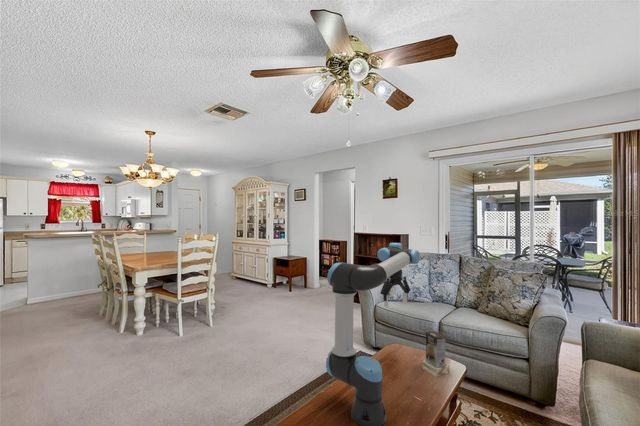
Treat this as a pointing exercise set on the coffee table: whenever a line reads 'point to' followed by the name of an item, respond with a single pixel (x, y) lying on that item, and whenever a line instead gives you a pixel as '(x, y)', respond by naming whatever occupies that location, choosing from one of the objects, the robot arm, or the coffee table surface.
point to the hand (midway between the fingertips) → (395, 305)
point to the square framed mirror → (435, 368)
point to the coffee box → (435, 349)
